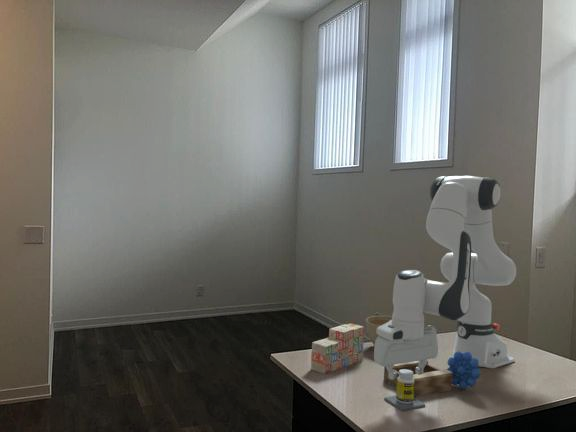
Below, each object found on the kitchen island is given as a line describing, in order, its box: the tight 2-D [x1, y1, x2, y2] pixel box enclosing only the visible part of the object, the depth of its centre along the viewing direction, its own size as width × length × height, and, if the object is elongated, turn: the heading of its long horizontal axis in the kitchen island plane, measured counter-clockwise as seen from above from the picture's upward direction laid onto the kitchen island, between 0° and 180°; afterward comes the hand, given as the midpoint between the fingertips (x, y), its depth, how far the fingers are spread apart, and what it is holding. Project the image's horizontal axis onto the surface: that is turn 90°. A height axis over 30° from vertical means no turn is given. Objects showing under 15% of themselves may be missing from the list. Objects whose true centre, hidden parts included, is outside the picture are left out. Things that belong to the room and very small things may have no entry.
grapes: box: [446, 351, 482, 390], centre depth 151 cm, size 12×7×12 cm, turn 36°
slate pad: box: [383, 395, 426, 412], centre depth 139 cm, size 8×8×1 cm
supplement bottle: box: [395, 369, 415, 404], centre depth 139 cm, size 5×5×8 cm
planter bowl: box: [365, 315, 392, 347], centre depth 189 cm, size 16×16×11 cm
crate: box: [383, 360, 453, 398], centre depth 153 cm, size 15×14×5 cm
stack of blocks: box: [310, 322, 365, 375], centre depth 169 cm, size 21×6×12 cm, turn 136°
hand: (405, 376), depth 139 cm, fingers open, 8 cm apart
